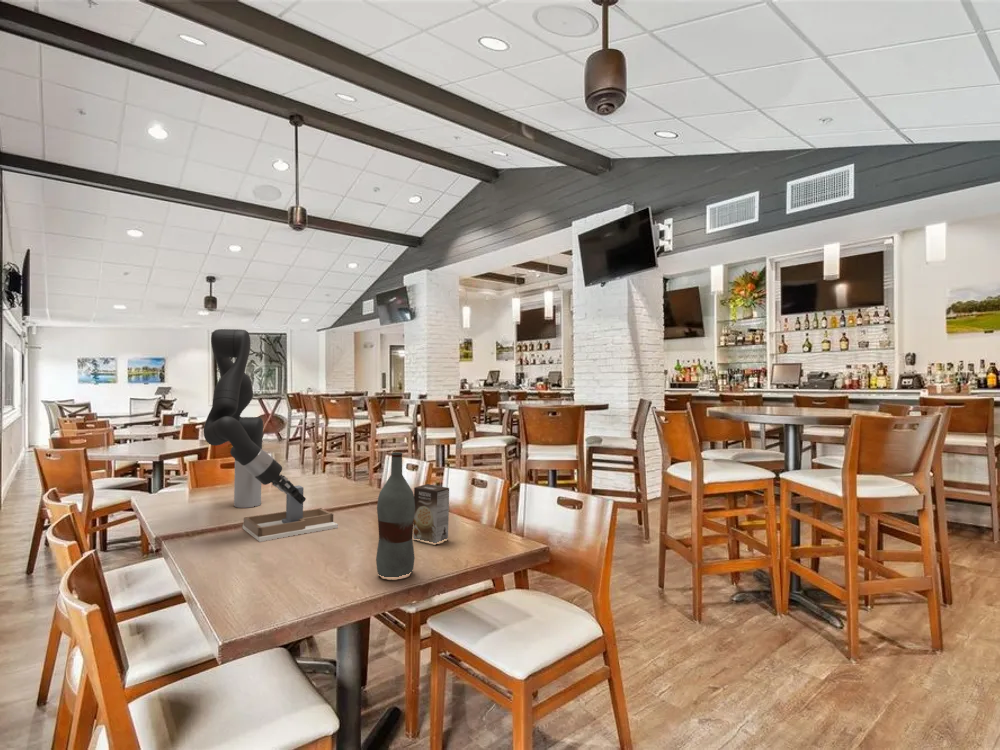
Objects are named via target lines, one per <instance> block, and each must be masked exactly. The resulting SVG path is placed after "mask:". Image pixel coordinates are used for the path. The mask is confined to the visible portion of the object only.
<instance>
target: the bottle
mask: <svg viewBox="0 0 1000 750" xmlns="http://www.w3.org/2000/svg"><path fill="white" fill-rule="evenodd" d="M390 464H391V466H390V467H391V468H390V476H389V477H388V479H387V481H386V482H385V483H384V485H383V486H382V488H381V490H380V491H379V494H378V497H377V504H376V505H377V506H376V511H377V512H376V513H377V522H378V523H377V524H378V543H377V548H376V549H377V550H376V557H375V558H376V559H375V562H376V571H377V575H378V574H379V575H381V576H384V577H399V576H402V575H406V574H409V573H410V572H412V573H413V571H412V570H414V565H415V559H416V558H415V557H416V556H415V549H414V542H413V541H414V540H413V528H414V513H415V500H414V490H413V489H412V488H411V487H410V485H409V483H408V482H407V480H406V478H405V477H404V475H403V452H401V451H398V452H397V451H395V452H391V463H390Z"/></svg>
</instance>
